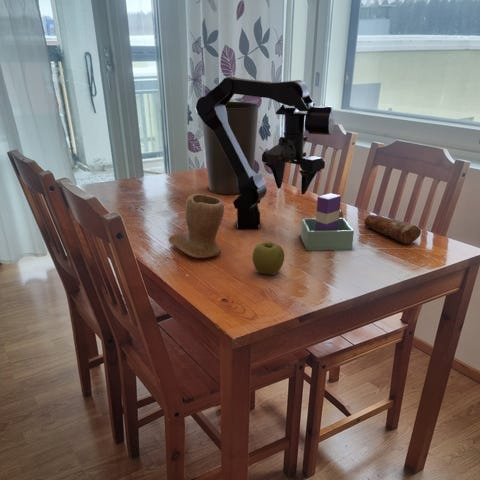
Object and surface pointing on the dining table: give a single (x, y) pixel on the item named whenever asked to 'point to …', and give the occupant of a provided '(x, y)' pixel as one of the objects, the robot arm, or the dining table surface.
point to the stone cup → (200, 227)
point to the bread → (393, 228)
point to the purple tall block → (327, 212)
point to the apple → (268, 257)
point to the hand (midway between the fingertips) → (290, 191)
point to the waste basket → (244, 130)
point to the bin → (326, 236)
